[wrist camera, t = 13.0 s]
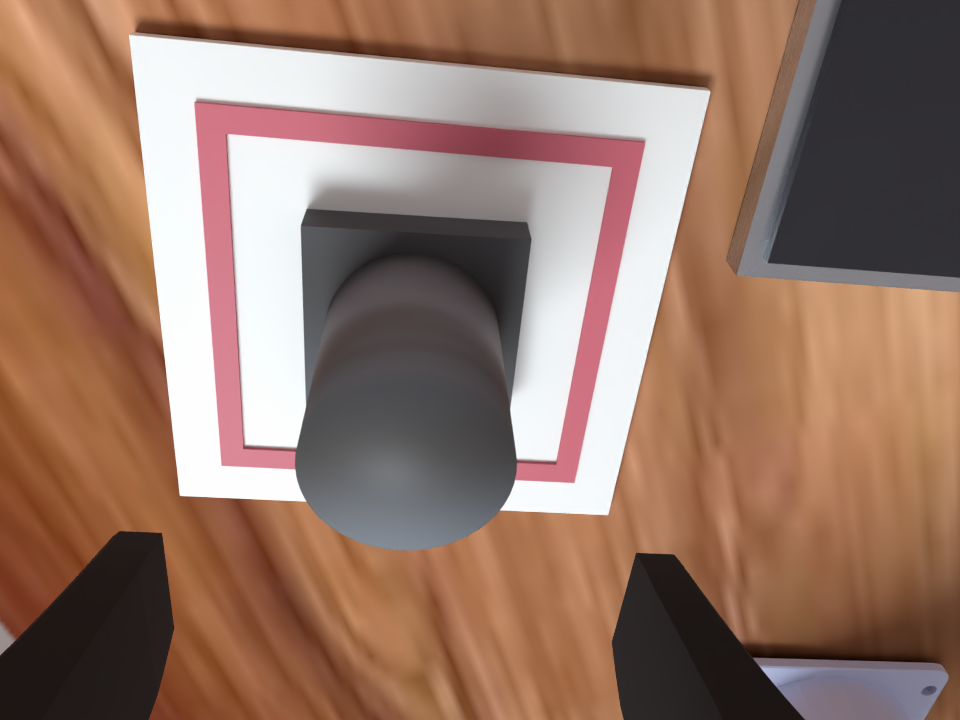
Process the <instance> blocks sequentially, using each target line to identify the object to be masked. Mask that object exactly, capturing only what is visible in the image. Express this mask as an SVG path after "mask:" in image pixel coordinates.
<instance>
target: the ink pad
mask: <svg viewBox="0 0 960 720" xmlns="http://www.w3.org/2000/svg"><path fill="white" fill-rule="evenodd" d="M726 262H727V263H728V264H729V266H730V267H731V269H732V270H733V271H734V273H735V274H736V275H737V276H749V277H762V278H776V279H789V280H803V281H816V282H829V283H843V284H856V285H870V286H883V287H897V288H910V289H923V290H937V291H950V292H960V0H800V1H799V4H798V8H797V11H796V15H795V18H794V22H793V26H792V29H791V33H790V36H789V40H788V43H787V47H786V50H785V54H784V58H783V61H782V65H781V68H780V72H779V75H778V79H777V82H776V86H775V90H774V93H773V97H772V100H771V104H770V107H769V111H768V115H767V118H766V122H765V125H764V129H763V132H762V136H761V139H760V143H759V147H758V150H757V154H756V157H755V161H754V164H753V168H752V172H751V175H750V179H749V182H748V186H747V189H746V193H745V196H744V200H743V204H742V207H741V211H740V214H739V218H738V221H737V225H736V228H735V232H734V236H733V239H732V243H731V246H730V250H729V253H728V257H727V261H726Z"/></svg>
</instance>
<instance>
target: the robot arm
mask: <svg viewBox="0 0 960 720" xmlns="http://www.w3.org/2000/svg"><path fill="white" fill-rule="evenodd" d="M173 631H174V623H173V616H172V608H171V600H170V592H169V584H168V577H167V569H166V561H165V553H164V545H163V537H162V533H149V532H125V531H119V532H118V533H117V534H116V535H114V536H113V537H112V538H111V539H110V540H109V541H108V542H107V544H106V545H105V546H104V547H103V548H102V549H101V550H100V551H99V553H98V554H97V555H96V556H95V557H94V558H93V559H92V560H91V561H90V563H89V564H88V565H87V566H86V567H85V568H84V569H83V570H82V571H81V573H80V574H79V575H78V576H77V577H76V578H75V579H74V580H73V581H72V582H71V583H70V584H69V586H68V587H67V588H66V589H65V590H64V591H63V592H62V593H61V594H60V595H59V596H58V597H57V598H56V599H55V601H54V602H53V603H52V604H51V605H50V606H49V607H48V608H47V609H46V610H45V611H44V612H43V613H42V614H41V615H40V616H39V617H38V618H37V619H36V620H35V621H34V622H33V623H32V624H31V625H30V626H29V627H28V628H27V629H26V630H25V631H24V632H23V633H22V634H21V635H20V636H19V637H18V638H17V639H16V641H15V642H14V643H13V644H12V645H11V646H10V647H9V648H7V649H6V650H5V651H4V652H3V653H2V654H1V655H0V720H148V719H149V717H150V714H151V711H152V709H153V706H154V703H155V700H156V698H157V695H158V691H159V687H160V683H161V680H162V676H163V672H164V668H165V664H166V660H167V656H168V652H169V647H170V643H171V639H172V635H173ZM612 647H613V655H614V663H615V671H616V679H617V685H618V692H619V699H620V706H621V710H622V714H623V718H624V720H924V719H925V717H926V716H927V714H928V712H929V711H930V709H931V707H932V706H933V704H934V702H935V701H936V699H937V697H938V696H939V694H940V692H941V691H942V689H943V688H944V686H945V684H946V683H947V681H948V678H949V676H948V673H947V672H946V670H945V669H944V667H943V666H942V665H940V664H937V663H921V662H887V661H852V660H817V659H783V658H752V656H751V655H750V654H749V653H748V651H747V650H746V649H745V648H744V646H743V645H742V644H741V643H740V641H739V640H738V639H737V638H736V636H735V635H734V634H733V632H732V631H731V630H730V628H729V627H728V626H727V625H726V623H725V622H724V621H723V619H722V618H721V617H720V615H719V614H718V613H717V611H716V610H715V609H714V607H713V606H712V605H711V603H710V602H709V601H708V599H707V598H706V596H705V595H704V594H703V592H702V591H701V590H700V588H699V587H698V586H697V584H696V583H695V581H694V580H693V579H692V577H691V576H690V575H689V573H688V572H687V571H686V569H685V568H684V566H683V565H682V564H681V562H680V561H679V560H678V559H677V557H676V556H675V555H671V554H647V553H636V556H635V559H634V563H633V567H632V570H631V574H630V578H629V581H628V585H627V589H626V592H625V596H624V600H623V603H622V607H621V611H620V614H619V618H618V622H617V625H616V629H615V633H614V636H613V640H612Z"/></svg>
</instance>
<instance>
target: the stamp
mask: <svg viewBox="0 0 960 720" xmlns="http://www.w3.org/2000/svg"><path fill="white" fill-rule="evenodd" d="M531 240H532V239H531V236H530V232H529V228H528V224H527V222H514V221H497V220H481V219H465V218H449V217H432V216H416V215H400V214H383V213H367V212H351V211H335V210H318V209H306V212H305V215H304V218H303V220H302V223H301V256H302V290H303V324H304V357H305V391H306V409H305V413H304V418H303V422H302V427H301V431H300V435H299V440H298V444H297V449H296V453H295V471H296V478H297V481H298V485H299V488H300V490H301V492H302V494H303V496H304V498H305V500H306V501H307V503H308V504H309V506H310V507H311V509H312V510H313V511H314V512H315V513H316V514H317V515H318V517H319V518H321V519H322V520H323V521H324V522H325V523H326V524H327V525H329V526H330V527H332V528H333V529H335V530H336V531H338V532H339V533H341V534H343V535H345V536H347V537H349V538H350V539H353V540H355V541H358V542H361V543H363V544H367V545H370V546H374V547H378V548H384V549H391V550H422V549H430V548H435V547H439V546H444V545H447V544H450V543H453V542H456V541H458V540H460V539H462V538H465V537H467V536H469V535H470V534H472V533H474V532H476V531H477V530H479V529H480V528H481V527H483V526H484V525H485V524H487V523H488V522H489V521H490V520H491V519H492V518H493V517H494V516H495V515H496V514H497V513H498V512H499V511H500V509H501V508H502V507H503V506H504V504H505V502H506V501H507V499H508V497H509V496H510V493H511V491H512V488H513V486H514V482H515V478H516V473H517V457H516V448H515V441H514V434H513V427H512V420H511V413H510V407H511V399H512V391H513V383H514V375H515V367H516V359H517V351H518V343H519V335H520V327H521V320H522V312H523V304H524V296H525V288H526V280H527V272H528V264H529V256H530V248H531Z"/></svg>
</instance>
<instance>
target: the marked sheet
mask: <svg viewBox="0 0 960 720" xmlns="http://www.w3.org/2000/svg"><path fill="white" fill-rule="evenodd" d="M129 38H130V47H131V56H132V65H133V74H134V83H135V92H136V102H137V111H138V120H139V129H140V138H141V147H142V156H143V165H144V174H145V183H146V192H147V201H148V210H149V219H150V228H151V237H152V246H153V255H154V265H155V274H156V283H157V292H158V301H159V310H160V319H161V328H162V337H163V346H164V355H165V364H166V373H167V382H168V391H169V400H170V409H171V418H172V428H173V437H174V446H175V455H176V464H177V473H178V482H179V491H180V496H197V497H219V498H242V499H264V500H286V501H306V500H305V498H304V496H303V494H302V492H301V490H300V488H299V485H298V481H297V478H296V471H295V453H296V449H297V444H298V440H299V435H300V431H301V427H302V422H303V418H304V413H305V409H306V391H305V357H304V324H303V290H302V256H301V223H302V220H303V218H304V215H305V212H306V209H318V210H335V211H351V212H367V213H383V214H400V215H416V216H432V217H449V218H465V219H481V220H497V221H514V222H527V224H528V228H529V232H530V236H531V239H532V240H531V248H530V256H529V264H528V272H527V280H526V288H525V296H524V304H523V312H522V320H521V327H520V335H519V343H518V351H517V359H516V367H515V375H514V383H513V391H512V399H511V407H510V413H511V420H512V427H513V434H514V441H515V448H516V457H517V473H516V478H515V482H514V486H513V488H512V491H511V493H510V496H509V497H508V499H507V501H506V502H505V504H504V506H503V507H502V508H501V509H500V510H507V511H529V512H551V513H574V514H596V515H608V513H609V509H610V505H611V501H612V497H613V493H614V489H615V484H616V480H617V476H618V472H619V468H620V464H621V460H622V456H623V451H624V447H625V443H626V439H627V435H628V431H629V427H630V422H631V418H632V414H633V410H634V406H635V402H636V398H637V394H638V389H639V385H640V381H641V377H642V373H643V369H644V365H645V360H646V356H647V352H648V348H649V344H650V340H651V336H652V332H653V327H654V323H655V319H656V315H657V311H658V307H659V303H660V299H661V294H662V290H663V286H664V282H665V278H666V274H667V270H668V265H669V261H670V257H671V253H672V249H673V245H674V241H675V237H676V232H677V228H678V224H679V220H680V216H681V212H682V208H683V203H684V199H685V195H686V191H687V187H688V183H689V179H690V175H691V170H692V166H693V162H694V158H695V154H696V150H697V146H698V141H699V137H700V133H701V129H702V125H703V121H704V117H705V113H706V108H707V104H708V100H709V96H710V92H711V91H710V90H709V89H708V88H706V87H696V86H685V85H675V84H665V83H654V82H644V81H633V80H623V79H613V78H602V77H592V76H582V75H571V74H561V73H551V72H540V71H530V70H520V69H509V68H499V67H489V66H478V65H468V64H457V63H447V62H437V61H426V60H416V59H406V58H395V57H385V56H375V55H364V54H354V53H344V52H333V51H323V50H313V49H302V48H292V47H282V46H271V45H261V44H250V43H240V42H230V41H219V40H209V39H199V38H188V37H178V36H168V35H157V34H147V33H137V32H133V33H132V34H130V35H129Z"/></svg>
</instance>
